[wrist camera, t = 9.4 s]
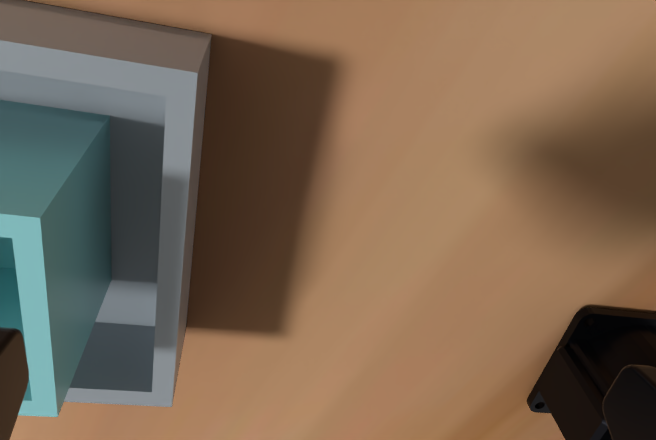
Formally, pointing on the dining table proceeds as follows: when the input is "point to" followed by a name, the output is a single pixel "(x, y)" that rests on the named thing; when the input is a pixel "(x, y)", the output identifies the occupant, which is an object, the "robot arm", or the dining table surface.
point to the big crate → (125, 176)
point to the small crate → (53, 239)
